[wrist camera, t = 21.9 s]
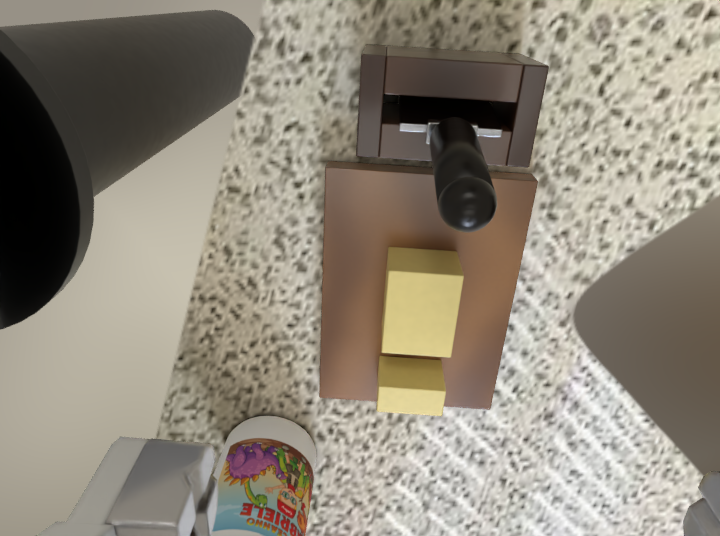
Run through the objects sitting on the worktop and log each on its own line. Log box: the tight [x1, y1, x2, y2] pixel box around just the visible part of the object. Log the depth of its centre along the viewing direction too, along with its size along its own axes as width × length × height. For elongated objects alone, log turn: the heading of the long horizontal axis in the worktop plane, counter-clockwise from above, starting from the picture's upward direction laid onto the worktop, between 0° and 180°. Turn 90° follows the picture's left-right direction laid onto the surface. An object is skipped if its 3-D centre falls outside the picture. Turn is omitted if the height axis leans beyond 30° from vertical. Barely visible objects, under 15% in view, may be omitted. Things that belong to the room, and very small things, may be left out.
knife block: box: [356, 44, 549, 167], centre depth 30 cm, size 9×5×6 cm, turn 87°
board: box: [319, 161, 538, 410], centre depth 38 cm, size 13×18×2 cm
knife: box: [399, 95, 502, 233], centre depth 26 cm, size 5×2×16 cm, turn 87°
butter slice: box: [377, 356, 446, 416], centre depth 38 cm, size 4×2×4 cm, turn 87°
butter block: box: [381, 247, 464, 358], centre depth 35 cm, size 4×6×4 cm
